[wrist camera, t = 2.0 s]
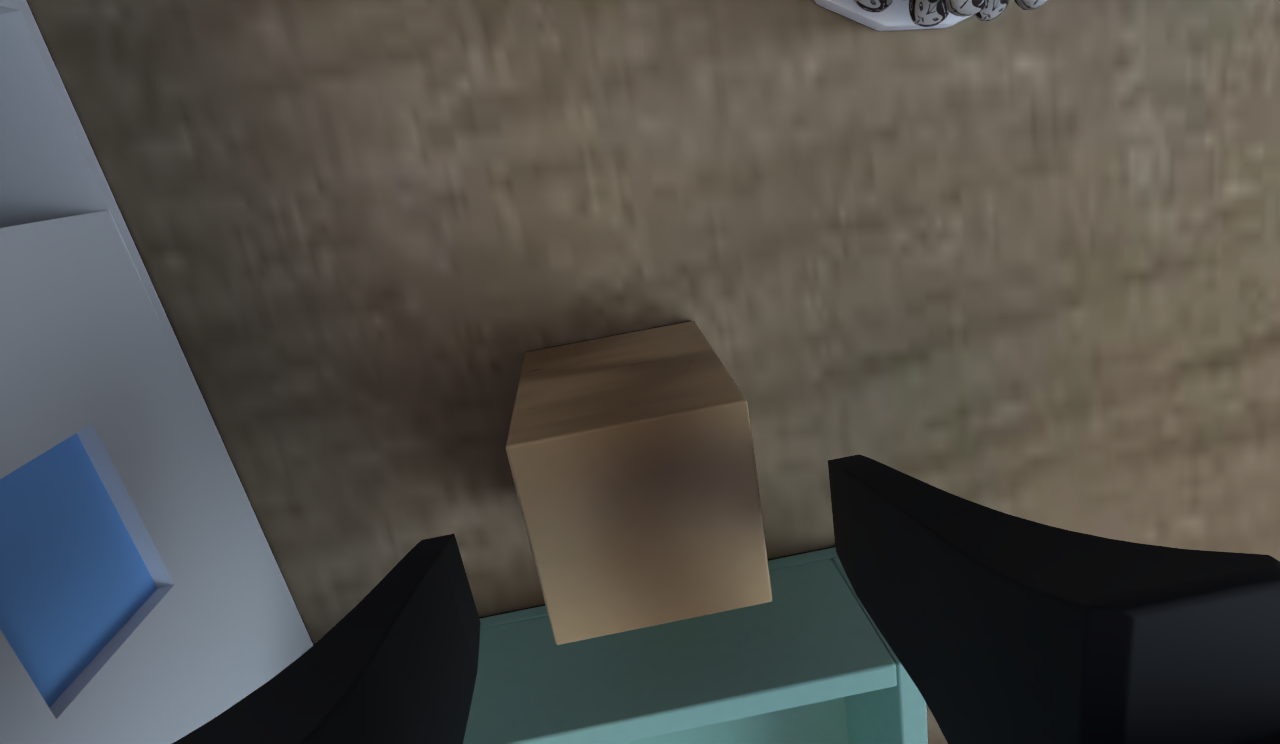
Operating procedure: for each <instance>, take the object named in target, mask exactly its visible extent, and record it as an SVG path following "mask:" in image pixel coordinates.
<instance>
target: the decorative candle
mask: <svg viewBox="0 0 1280 744" xmlns="http://www.w3.org/2000/svg"><path fill="white" fill-rule="evenodd" d="M1046 1H1047V0H1015V2H1016V3H1017V5H1018V6H1019V7H1021V8H1022V9H1024V10H1033V9H1035V8H1038V7H1040V6H1041V5H1043V4H1044V3H1045V2H1046ZM814 2H815V3H816V4H817V5H819V6H821V7H824V8H826V9H828V10H831V11H833V12H835V13H838V14H840V15H842V16H845V17H847V18H849V19H852V20H854V21H856V22H858V23H861V24H863V25H865V26H868V27H870V28H872V29H875V30H877V31H892V30H913V29H934V28H946V27H950V26H952V25H954V24H956V23H958V22H960V21H962V20H964V19H966V18H968V17H970V16H972V15H975V16H976V17H977V18H978V19H980V20H981V21H989V20H992V19H994V18H996V17H997V16H999V15H1000V14H1001V13H1002V12H1003V11H1004V9H1005V8H1006V6H1007V5H1008V2H1009V0H814Z"/></svg>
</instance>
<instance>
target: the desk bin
mask: <svg viewBox="0 0 1280 744" xmlns="http://www.w3.org/2000/svg"><path fill="white" fill-rule="evenodd" d="M768 566H769V574H770V582H771V590H772V601H771V602H767V603H762V604H758V605H753V606H748V607H743V608H738V609H733V610H728V611H723V612H718V613H713V614H708V615H703V616H698V617H694V618H689V619H684V620H679V621H674V622H669V623H664V624H659V625H654V626H649V627H644V628H639V629H634V630H630V631H625V632H620V633H615V634H610V635H605V636H600V637H595V638H590V639H585V640H580V641H575V642H570V643H566V644H561V645H556V643H555V640H554V636H553V633H552V629H551V625H550V621H549V617H548V613H547V609H546V605H545V606H540V607H535V608H530V609H525V610H520V611H515V612H510V613H505V614H500V615H495V616H490V617H486V618H481V619H479V620H480V642H479V658H478V671H477V677H476V682H475V687H474V692H473V697H472V702H471V707H470V712H469V717H468V722H467V726H466V731H465V736H464V741H463V744H928V734H927V710H926V702H925V700H924V698H923V697H922V695H921V693H920V692H919V690H918V688H917V687H916V685H915V684H914V682H913V681H912V679H911V678H910V676H909V675H908V673H907V672H906V670H905V669H904V667H903V666H902V664H901V663H900V661H899V660H898V658H897V656H896V655H895V653H894V652H893V650H892V649H891V647H890V646H889V644H888V643H887V641H886V640H885V638H884V637H883V635H882V634H881V632H880V631H879V629H878V628H877V626H876V625H875V623H874V622H873V620H872V619H871V617H870V616H869V614H868V612H867V611H866V609H865V608H864V606H863V605H862V603H861V602H860V600H859V598H858V597H857V595H856V593H855V591H854V589H853V587H852V585H851V583H850V581H849V579H848V577H847V575H846V573H845V571H844V568H843V566H842V564H841V562H840V560H839V557H838V555H837V553H836V547H834V548H829V549H824V550H819V551H814V552H809V553H804V554H799V555H794V556H789V557H784V558H779V559H774V560H769V561H768Z"/></svg>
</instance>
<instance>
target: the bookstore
mask: <svg viewBox="0 0 1280 744" xmlns="http://www.w3.org/2000/svg"><path fill="white" fill-rule="evenodd" d="M312 646H313V643H312V641H311V639H310V637H309V634H308V632H307V630H306V628H305V625H304V623H303V621H302V619H301V616H300V614H299V612H298V610H297V607H296V605H295V603H294V601H293V598H292V596H291V594H290V592H289V589H288V587H287V585H286V583H285V580H284V578H283V576H282V574H281V572H280V569H279V567H278V565H277V563H276V560H275V558H274V556H273V554H272V551H271V549H270V547H269V545H268V542H267V540H266V538H265V536H264V533H263V531H262V529H261V527H260V524H259V522H258V520H257V518H256V515H255V513H254V511H253V509H252V506H251V504H250V502H249V500H248V497H247V495H246V493H245V491H244V488H243V486H242V484H241V482H240V479H239V477H238V475H237V473H236V470H235V468H234V466H233V464H232V462H231V459H230V457H229V455H228V453H227V450H226V448H225V446H224V444H223V441H222V439H221V437H220V435H219V432H218V430H217V428H216V426H215V423H214V421H213V419H212V417H211V414H210V412H209V410H208V408H207V405H206V403H205V401H204V399H203V396H202V394H201V392H200V390H199V387H198V385H197V383H196V381H195V378H194V376H193V374H192V372H191V369H190V367H189V365H188V363H187V360H186V358H185V356H184V354H183V351H182V349H181V347H180V345H179V343H178V340H177V338H176V336H175V334H174V331H173V329H172V327H171V325H170V322H169V320H168V318H167V316H166V313H165V311H164V309H163V307H162V304H161V302H160V300H159V298H158V295H157V293H156V291H155V289H154V286H153V284H152V282H151V280H150V277H149V275H148V273H147V271H146V268H145V266H144V264H143V262H142V259H141V257H140V255H139V253H138V250H137V248H136V246H135V244H134V241H133V239H132V237H131V235H130V232H129V230H128V228H127V226H126V224H125V221H124V219H123V217H122V215H121V212H120V210H119V208H118V206H117V203H116V201H115V199H114V197H113V194H112V192H111V190H110V188H109V185H108V183H107V181H106V179H105V176H104V174H103V172H102V170H101V167H100V165H99V163H98V161H97V158H96V156H95V154H94V152H93V149H92V147H91V145H90V143H89V140H88V138H87V136H86V134H85V131H84V129H83V127H82V125H81V122H80V120H79V118H78V116H77V113H76V111H75V109H74V107H73V105H72V102H71V100H70V98H69V96H68V93H67V91H66V89H65V87H64V84H63V82H62V80H61V78H60V75H59V73H58V71H57V69H56V66H55V64H54V62H53V60H52V57H51V55H50V53H49V51H48V48H47V46H46V44H45V42H44V39H43V37H42V35H41V33H40V30H39V28H38V26H37V24H36V21H35V19H34V17H33V15H32V12H31V10H30V8H29V6H28V3H27V1H26V0H0V744H172V743H174V742H175V741H177V740H179V739H181V738H182V737H184V736H186V735H187V734H189V733H191V732H192V731H194V730H196V729H197V728H199V727H201V726H202V725H204V724H206V723H207V722H209V721H210V720H212V719H214V718H215V717H217V716H218V715H220V714H221V713H223V712H224V711H226V710H227V709H229V708H230V707H231V706H233V705H234V704H236V703H237V702H239V701H240V700H242V699H243V698H245V697H246V696H248V695H249V694H251V693H252V692H253V691H255V690H256V689H258V688H259V687H261V686H262V685H264V684H265V683H267V682H268V681H269V680H271V679H272V678H273V677H275V676H276V675H277V674H279V673H280V672H281V671H282V670H284V669H285V668H286V667H287V666H289V665H290V664H291V663H293V662H294V661H295V660H296V659H298V658H299V657H300V656H301V655H303V654H304V653H305V652H306V651H307V650H309V649H310V648H311V647H312Z"/></svg>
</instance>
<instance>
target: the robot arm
mask: <svg viewBox="0 0 1280 744" xmlns="http://www.w3.org/2000/svg"><path fill="white" fill-rule="evenodd" d="M828 467H829V478H830V490H831V501H832V513H833V524H834V536H835V547H836V553H837V555H838V557H839V560H840V562H841V564H842V566H843V568H844V571H845V573H846V575H847V577H848V579H849V581H850V583H851V585H852V587H853V589H854V591H855V593H856V595H857V597H858V598H859V600H860V602H861V603H862V605H863V606H864V608H865V609H866V611H867V612H868V614H869V616H870V617H871V619H872V620H873V622H874V623H875V625H876V626H877V628H878V629H879V631H880V632H881V634H882V635H883V637H884V638H885V640H886V641H887V643H888V644H889V646H890V647H891V649H892V650H893V652H894V653H895V655H896V656H897V658H898V660H899V661H900V663H901V664H902V666H903V667H904V669H905V670H906V672H907V673H908V675H909V676H910V678H911V679H912V681H913V682H914V684H915V685H916V687H917V688H918V690H919V692H920V693H921V695H922V697H923V698H924V700H925V702H926V703H927V705H928V707H929V708H930V710H931V712H932V714H933V715H934V717H935V719H936V721H937V723H938V725H939V727H940V729H941V731H942V733H943V735H944V737H945V739H946V740H947V742H948V744H1280V562H1279V561H1278V560H1276V559H1274V558H1273V557H1271V556H1269V555H1260V554H1245V553H1230V552H1215V551H1200V550H1187V549H1178V548H1170V547H1162V546H1154V545H1146V544H1138V543H1132V542H1126V541H1120V540H1113V539H1108V538H1103V537H1098V536H1093V535H1088V534H1083V533H1078V532H1073V531H1068V530H1064V529H1060V528H1056V527H1051V526H1047V525H1044V524H1040V523H1036V522H1033V521H1029V520H1026V519H1022V518H1019V517H1015V516H1012V515H1008V514H1005V513H1002V512H999V511H996V510H993V509H990V508H988V507H985V506H982V505H979V504H977V503H974V502H971V501H968V500H966V499H963V498H960V497H958V496H955V495H953V494H950V493H948V492H945V491H943V490H941V489H938V488H936V487H934V486H931V485H929V484H927V483H924V482H922V481H920V480H918V479H915V478H913V477H911V476H909V475H906V474H904V473H902V472H900V471H897V470H895V469H893V468H891V467H889V466H886V465H884V464H882V463H880V462H877V461H875V460H873V459H870V458H868V457H865V456H862V455H855V456H849V457H844V458H839V459H834V460H829V461H828ZM479 642H480V620H479V616H478V613H477V609H476V606H475V603H474V599H473V596H472V592H471V589H470V586H469V582H468V579H467V576H466V572H465V569H464V565H463V562H462V559H461V555H460V552H459V548H458V545H457V542H456V538H455V535H454V534H451V535H446V536H440V537H435V538H430V539H425V540H422V541H421V542H419V543H418V544H417V545H416V546H415V547H414V548H413V549H412V550H411V551H410V552H409V553H408V554H407V555H406V556H405V557H404V558H403V559H402V560H401V561H400V562H399V563H398V564H397V565H396V566H395V567H394V568H393V569H392V570H391V571H390V572H389V573H388V574H387V575H386V576H385V577H384V578H383V579H382V580H381V581H380V583H379V584H378V585H377V586H376V587H375V588H374V589H373V590H372V591H371V592H370V593H369V594H368V595H367V596H366V597H365V598H364V599H363V600H362V601H361V602H360V603H359V604H358V605H357V606H356V607H355V608H354V609H352V610H351V611H350V612H349V613H348V614H347V615H346V616H345V617H344V618H343V619H342V620H341V621H340V622H339V623H337V624H336V625H335V626H334V627H333V628H332V629H331V630H330V631H329V632H328V633H327V634H326V635H325V636H324V637H323V638H321V639H320V640H319V641H318V642H317V643H316V644H314V645H313V646H312V647H311V648H310V649H309V650H307V651H306V652H305V653H304V654H303V655H301V656H300V657H299V658H298V659H296V660H295V661H294V662H293V663H291V664H290V665H289V666H287V667H286V668H285V669H284V670H282V671H281V672H280V673H279V674H277V675H276V676H275V677H273V678H272V679H271V680H269V681H268V682H267V683H265V684H264V685H262V686H261V687H259V688H258V689H256V690H255V691H253V692H252V693H251V694H249V695H248V696H246V697H245V698H243V699H242V700H240V701H239V702H237V703H236V704H234V705H233V706H231V707H230V708H229V709H227V710H226V711H224V712H223V713H221V714H220V715H218V716H217V717H215V718H214V719H212V720H210V721H209V722H207V723H206V724H204V725H202V726H201V727H199V728H197V729H196V730H194V731H192V732H191V733H189V734H187V735H186V736H184V737H182V738H181V739H179V740H177V741H175V742H174V743H172V744H463V741H464V736H465V731H466V726H467V722H468V717H469V712H470V707H471V702H472V697H473V692H474V687H475V682H476V677H477V671H478V658H479Z"/></svg>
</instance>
